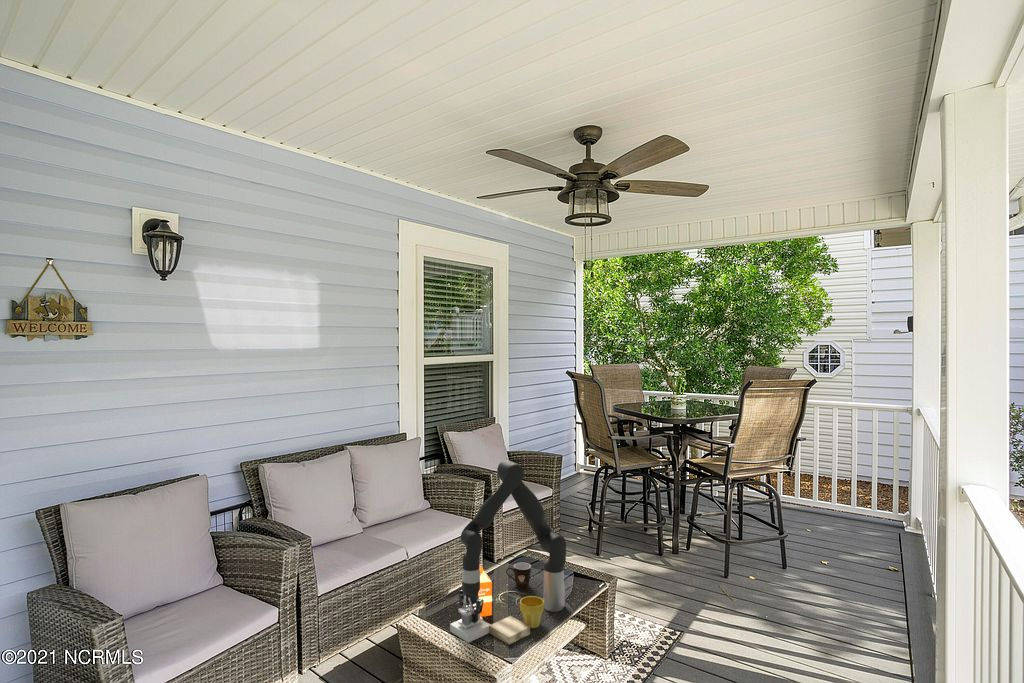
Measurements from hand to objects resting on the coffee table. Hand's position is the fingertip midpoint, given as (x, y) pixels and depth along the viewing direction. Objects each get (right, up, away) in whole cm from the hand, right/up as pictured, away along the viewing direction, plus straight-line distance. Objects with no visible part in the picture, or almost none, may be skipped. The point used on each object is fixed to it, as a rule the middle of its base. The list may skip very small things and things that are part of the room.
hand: (470, 619), depth 222 cm
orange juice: (+3, -5, +17) cm, 18 cm away
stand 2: (+16, -5, -1) cm, 17 cm away
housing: (0, -1, 0) cm, 1 cm away
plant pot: (+26, -5, +6) cm, 27 cm away
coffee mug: (+21, -6, +43) cm, 48 cm away
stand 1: (0, -5, 0) cm, 5 cm away
